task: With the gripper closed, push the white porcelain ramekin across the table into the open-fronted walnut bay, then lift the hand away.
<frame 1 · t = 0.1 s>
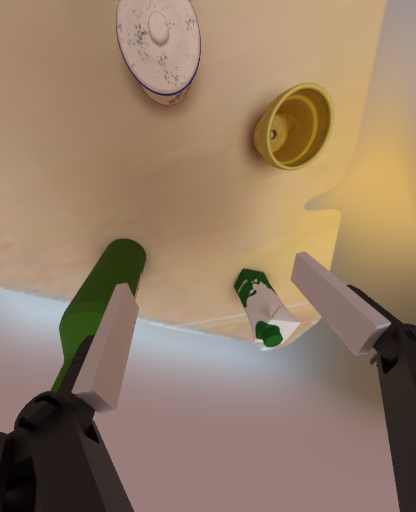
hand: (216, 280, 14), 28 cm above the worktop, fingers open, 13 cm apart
plant pot: (269, 134, 34), on the worktop
teacup with lid: (168, 57, 26), on the worktop
wine bottle: (127, 254, 42), on the worktop
milk carton: (248, 279, 53), on the worktop
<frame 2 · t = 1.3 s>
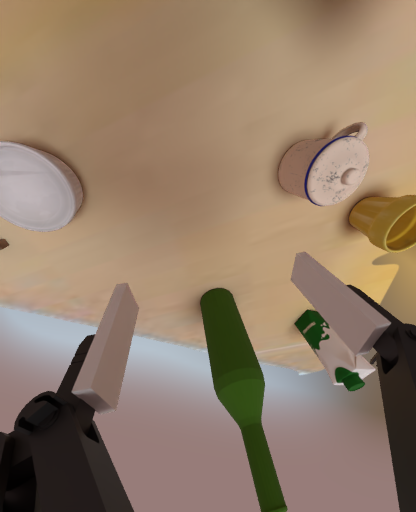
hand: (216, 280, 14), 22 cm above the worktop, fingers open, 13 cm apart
plant pot: (362, 211, 40), on the worktop
teacup with lid: (305, 160, 32), on the worktop
ramekin: (50, 184, 28), on the worktop
wine bottle: (216, 299, 47), on the worktop
milk carton: (308, 317, 58), on the worktop
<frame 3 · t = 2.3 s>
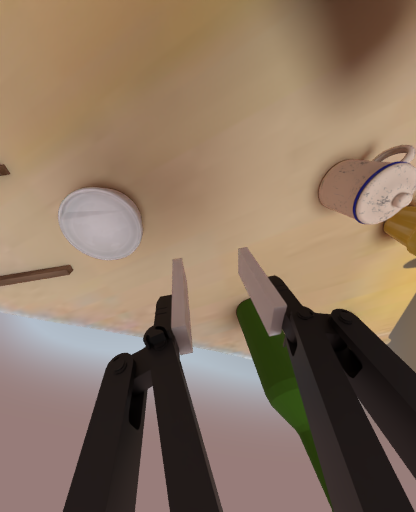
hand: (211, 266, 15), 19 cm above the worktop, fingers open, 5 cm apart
plant pot: (396, 219, 40), on the worktop
teacup with lid: (344, 177, 33), on the worktop
ramekin: (113, 215, 30), on the worktop
wine bottle: (251, 308, 49), on the worktop
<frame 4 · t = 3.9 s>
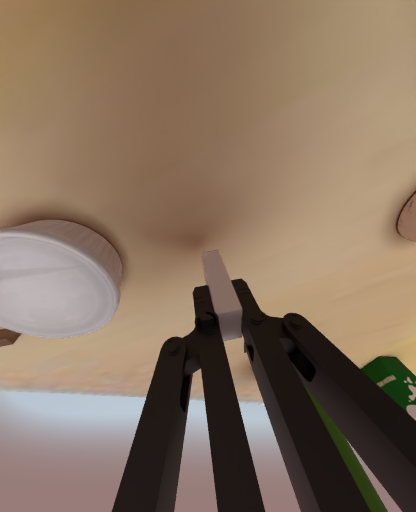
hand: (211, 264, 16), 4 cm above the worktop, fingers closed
ramekin: (75, 259, 19), on the worktop
wine bottle: (275, 358, 37), on the worktop
milk carton: (377, 362, 48), on the worktop
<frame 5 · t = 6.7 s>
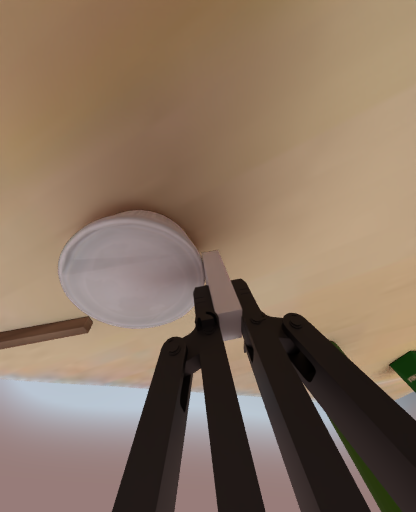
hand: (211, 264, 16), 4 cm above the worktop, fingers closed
ramekin: (147, 251, 19), on the worktop
wine bottle: (315, 351, 38), on the worktop
milk carton: (406, 357, 49), on the worktop
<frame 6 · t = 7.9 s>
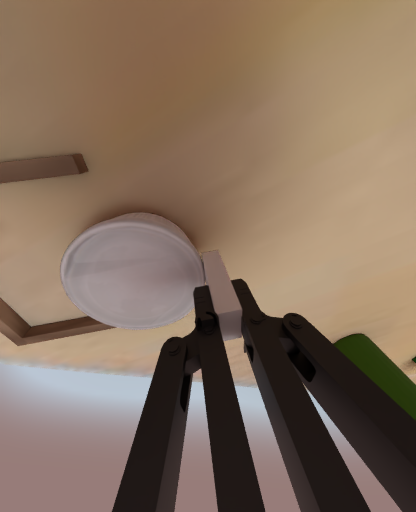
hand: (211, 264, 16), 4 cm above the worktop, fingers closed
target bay: (53, 265, 18), on the worktop
ramekin: (147, 252, 19), on the worktop, touching gripper
wine bottle: (345, 344, 39), on the worktop
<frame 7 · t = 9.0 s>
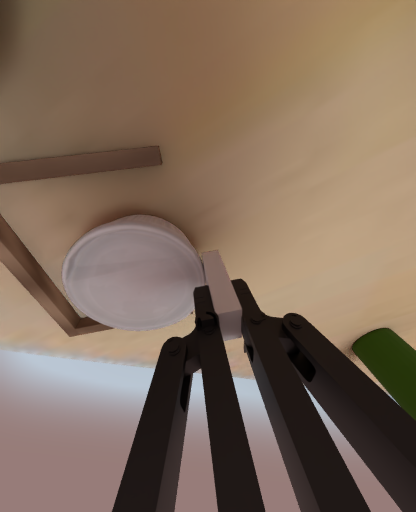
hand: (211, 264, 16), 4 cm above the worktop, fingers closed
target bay: (113, 257, 18), on the worktop
ramekin: (148, 254, 19), on the worktop, touching gripper
wine bottle: (370, 339, 39), on the worktop
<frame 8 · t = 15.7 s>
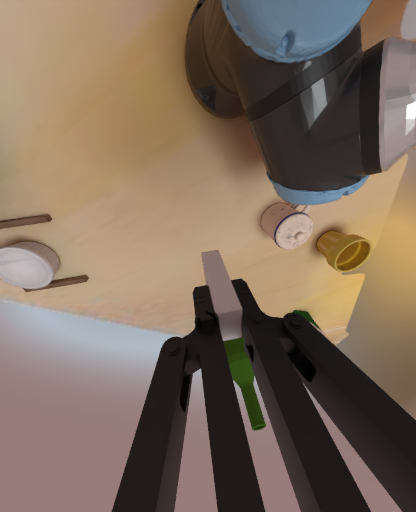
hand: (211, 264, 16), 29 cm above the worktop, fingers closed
plant pot: (326, 240, 55), on the worktop
teacup with lid: (279, 214, 47), on the worktop
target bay: (41, 254, 43), on the worktop
ramekin: (38, 256, 43), on the worktop
wine bottle: (223, 305, 63), on the worktop
milk carton: (296, 316, 74), on the worktop
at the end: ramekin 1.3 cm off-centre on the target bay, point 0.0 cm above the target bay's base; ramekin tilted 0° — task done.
